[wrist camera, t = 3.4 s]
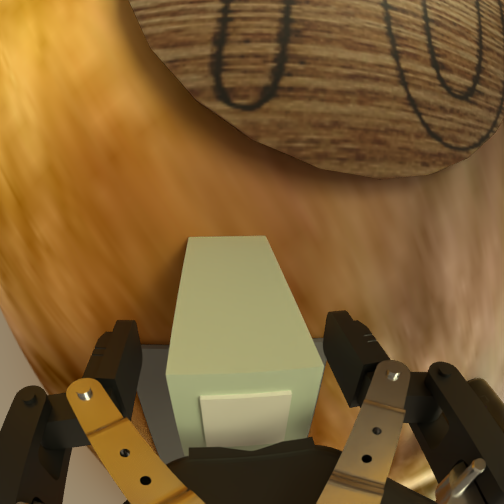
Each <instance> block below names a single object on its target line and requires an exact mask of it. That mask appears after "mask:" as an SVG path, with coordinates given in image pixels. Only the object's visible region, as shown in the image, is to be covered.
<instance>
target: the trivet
mask: <svg viewBox="0 0 504 504" xmlns="http://www.w3.org/2000/svg"><path fill="white" fill-rule="evenodd" d="M129 2H130V4H131V7H132V9H133V11H134V13H135V15H136V18H137V20H138V22H139V24H140V27H141V29H142V31H143V33H144V35H145V38H146V40H147V42H148V44H149V46H150V48H151V49H152V51H153V52H154V53H155V54H156V55H157V56H158V58H159V59H160V60H161V61H162V62H163V63H164V64H165V65H166V66H167V68H168V69H169V70H170V71H171V72H172V73H173V74H174V75H175V77H176V78H177V79H178V80H179V81H180V82H181V83H182V85H183V86H184V87H185V88H186V89H187V90H188V91H189V93H190V94H191V95H192V96H193V97H194V98H195V100H196V101H197V102H199V103H200V104H202V105H203V106H205V107H206V108H208V109H209V110H211V111H212V112H214V113H215V114H216V115H218V116H219V117H221V118H222V119H224V120H225V121H226V122H228V123H229V124H231V125H232V126H233V127H235V128H236V129H238V130H239V131H240V132H242V133H243V134H245V135H246V136H247V137H249V138H250V139H252V140H254V141H257V142H259V143H262V144H264V145H267V146H269V147H271V148H274V149H276V150H279V151H281V152H283V153H286V154H288V155H290V156H293V157H295V158H297V159H300V160H302V161H304V162H306V163H309V164H311V165H313V166H315V167H318V168H320V169H326V170H332V171H338V172H344V173H350V174H355V175H361V176H366V177H371V178H376V179H386V178H397V177H407V176H419V175H430V174H432V173H434V172H437V171H439V170H441V169H443V168H446V167H448V166H450V165H453V164H455V163H457V162H460V161H462V160H464V159H467V158H468V157H469V156H471V155H472V154H473V153H474V152H475V151H476V150H477V149H478V148H479V147H480V146H481V145H483V144H484V143H485V142H486V141H487V140H488V139H489V138H490V137H491V136H492V135H493V134H494V133H495V132H496V131H497V129H498V127H499V125H500V123H501V122H502V120H503V118H504V0H129Z"/></svg>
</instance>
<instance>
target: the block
mask: <svg viewBox="0 0 504 504" xmlns="http://www.w3.org/2000/svg"><path fill="white" fill-rule="evenodd" d="M323 369H324V365H323V362H322V360H321V358H320V355H319V353H318V351H317V349H316V346H315V344H314V342H313V340H312V337H311V335H310V333H309V331H308V328H307V326H306V324H305V322H304V319H303V317H302V315H301V313H300V310H299V308H298V306H297V304H296V302H295V299H294V297H293V295H292V293H291V291H290V288H289V286H288V284H287V282H286V280H285V277H284V275H283V273H282V271H281V269H280V266H279V264H278V262H277V260H276V258H275V255H274V253H273V251H272V249H271V247H270V245H269V242H268V240H267V238H266V236H217V237H189V238H188V243H187V249H186V254H185V259H184V264H183V269H182V275H181V280H180V286H179V291H178V297H177V303H176V309H175V315H174V321H173V327H172V334H171V340H170V347H169V354H168V361H167V368H166V379H167V384H168V389H169V394H170V398H171V403H172V407H173V412H174V416H175V420H176V425H177V429H178V433H179V437H180V441H181V445H182V449H183V452H184V456H189V447H224V448H231V449H239V450H247V451H254V450H258V449H261V448H264V447H267V446H270V445H273V444H276V443H279V442H282V441H289V440H296V439H303V438H307V434H308V431H309V427H310V423H311V419H312V415H313V411H314V407H315V403H316V399H317V395H318V391H319V387H320V382H321V378H322V373H323Z"/></svg>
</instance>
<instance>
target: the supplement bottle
mask: <svg viewBox="0 0 504 504" xmlns="http://www.w3.org/2000/svg"><path fill="white" fill-rule="evenodd" d="M467 383H468V384H469V385H470V387H471V388H472V389H473V391H474V392H475V393H476V395H477V396H478V397H479V399H480V400H481V402H482V403H483V404H484V406H485V407H486V409H487V410H488V411H489V413H490V414H491V416H492V417H493V418H494V420H495V421H496V423H497V424H498V426H499V427H500V429H501V430H502V432H503V433H504V403H503V402H502V401H501V399H500V398H499V397H498V395H497V394H496V393H495V392H494V390H493V389H492V388H491V387H490V386H489V384H488V383H487V382H486V381H485V380H484V379H481V378H477V379H473V380H470V381H468V382H467ZM441 414H442V415H443V417H444V418H445V420H446V422H447V423H448V425H449V422H448V419H447V418H446V416H445V414H444V413H443V411H442V413H441Z"/></svg>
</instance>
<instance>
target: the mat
mask: <svg viewBox="0 0 504 504" xmlns="http://www.w3.org/2000/svg"><path fill="white" fill-rule="evenodd" d="M312 340H313V342H314V344H315V346H316V349H317V351H318V353H319V355H320V358H321V360H322V362H323V365H324V369H325V365H326V360H327V359H326V357H325V355H324V351H323V338H314V339H312ZM169 347H170V345H141V348H142V355H143V361H142V367H141V372H140V376H139V381H138V386H137V393H138V396H139V399H140V403H141V406H142V409H143V412H144V415H145V418H146V421H147V424H148V427H149V430H150V433H151V436H152V438H153V441H154V444H155V447H156V449H157V452H158V454H159V457H160V459H161V460H162V461H163V462H164V464H165V465H166V464H168V463H169V462H171V461H174V460H176V459H179V458H182V457H185V456H184V452H183V449H182V445H181V441H180V437H179V433H178V429H177V425H176V420H175V416H174V412H173V407H172V403H171V398H170V394H169V389H168V384H167V379H166V368H167V361H168V354H169ZM324 369H323V373H322V378H323V374H324ZM322 378H321V382H322ZM321 382H320V387H321ZM320 387H319V391H320ZM319 391H318V395H319ZM318 395H317V399H318ZM317 399H316V403H317ZM316 403H315V407H316ZM315 407H314V411H315ZM314 411H313V415H314ZM313 415H312V419H313ZM312 419H311V423H312ZM311 423H310V426H311ZM309 430H310V427H309ZM308 434H309V431H308ZM308 434H307V437H308Z"/></svg>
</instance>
